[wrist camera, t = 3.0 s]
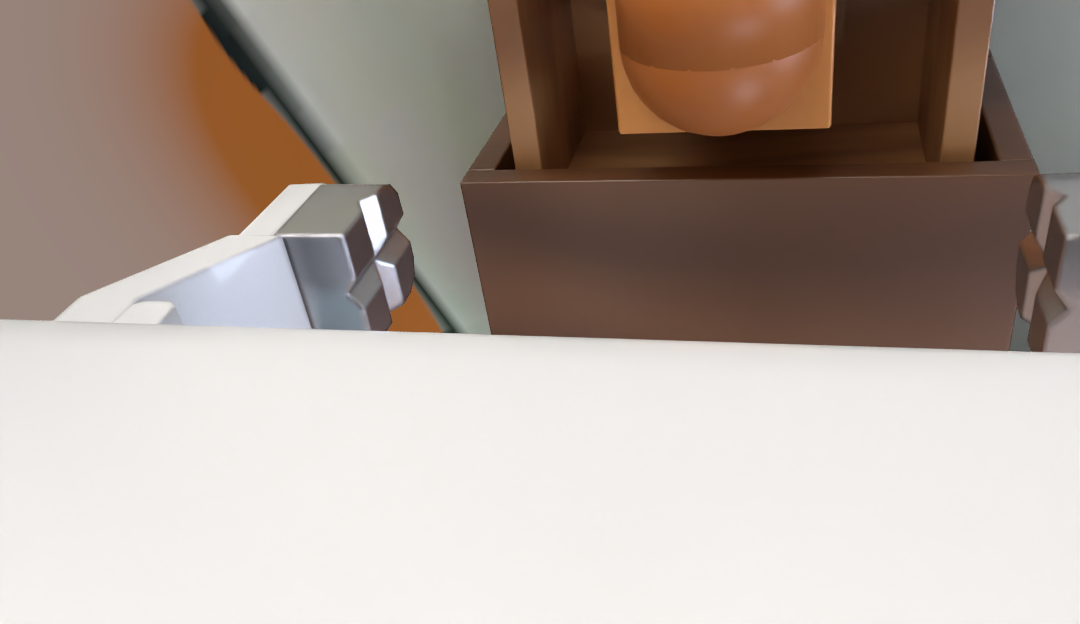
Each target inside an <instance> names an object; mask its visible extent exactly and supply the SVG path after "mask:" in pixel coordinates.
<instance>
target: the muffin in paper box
mask: <svg viewBox="0 0 1080 624" xmlns="http://www.w3.org/2000/svg"><path fill="white" fill-rule="evenodd" d="M606 3H607V13H608V24H609V34H610V44H611V55H612V65H613V76H614V86H615V96H616V107H617V117H618V127H619V132H620V134H638V133H675V132H690V133H695V134H700V135H706V136H728V135H735V134H739V133H743V132H746V131H749V130H783V129H819V128H830V126H831V117H832V92H833V67H834V42H835V17H836V0H606Z"/></svg>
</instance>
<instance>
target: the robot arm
mask: <svg viewBox="0 0 1080 624" xmlns="http://www.w3.org/2000/svg"><path fill="white" fill-rule="evenodd" d="M1025 212H1026V214H1027V217H1028V220H1029V223H1030V226H1031V229H1032V232H1031V233H1030V234H1029V235H1028V236H1027V237H1026V238H1025V239H1024V240H1023V241H1022V242H1021V243H1020V244H1019V250H1018V258H1017V265H1016V284H1015V291H1016V299H1017V306H1018V310H1019V313H1020V317H1021V318H1022V319H1023V320H1025V321H1026V322H1028V323H1030V329H1029V335H1028V343H1029V346H1030V350H1031V352H1023V351H991V350H959V349H927V348H896V347H864V346H832V345H801V344H769V343H738V342H706V341H675V340H643V339H612V338H581V337H549V336H518V335H486V334H455V333H423V332H391V331H387V330H388V328H389V327H390V325H391V324H392V318H391V315H390V311H392V310H394V309H396V308H398V307H399V306H401V305H403V304H404V303H405V301H406V300H407V298H408V296H409V294H410V293H411V289H412V284H413V279H414V274H415V272H414V256H413V252H412V248H411V243H410V241H409V240H408V239H407V238H406V237H405V236H404V235H403V234H402V233H401V232H400V231H399V230H398V229H397V226H398V224H399V222H400V220H401V218H402V216H403V210H402V207H401V203H400V200H399V196H398V193H397V192H396V190H395V189H394V188H393V187H392V186H391V185H390V184H324V183H318V184H299V185H289V186H288V187H287V188H286V189H285V190H284V191H283V192H282V193H281V194H280V195H279V196H278V197H277V198H276V199H275V200H274V201H273V202H272V203H271V204H270V205H269V206H268V207H267V208H266V209H265V210H264V211H263V212H262V213H261V214H260V215H259V216H258V217H257V218H256V219H255V220H254V221H253V222H252V223H251V224H250V225H249V226H248V227H247V228H246V229H245V230H244V231H243V232H242V233H241V234H240V235H237V236H236V235H229V236H227V237H224V238H222V239H220V240H217V241H215V242H212V243H210V244H207V245H205V246H203V247H200V248H198V249H195V250H193V251H190V252H188V253H186V254H183V255H181V256H178V257H176V258H173V259H171V260H169V261H166V262H164V263H161V264H159V265H156V266H154V267H152V268H149V269H147V270H144V271H142V272H139V273H137V274H135V275H132V276H130V277H127V278H125V279H122V280H120V281H117V282H115V283H113V284H110V285H108V286H105V287H103V288H100V289H98V290H96V291H93V292H91V293H89V294H86V295H84V296H81V297H79V298H78V299H77V300H76V301H75V302H74V303H73V304H71V305H70V306H69V307H68V308H67V309H66V310H65V311H63V312H62V313H61V314H60V315H59V316H58V317H57V318H55V319H54V320H53V321H40V320H7V319H0V624H1080V173H1067V174H1039V175H1037V176H1035V177H1033V179H1032V182H1031V185H1030V189H1029V192H1028V197H1027V203H1026V208H1025Z"/></svg>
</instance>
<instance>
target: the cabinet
mask: <svg viewBox="0 0 1080 624" xmlns="http://www.w3.org/2000/svg"><path fill="white" fill-rule="evenodd" d="M1039 174H1040V173H1039V170H1038V168H1037V165H1036V163H1035V161H1034V159H1033V157H1032V154H1031V152H1030V149H1029V147H1028V144H1027V142H1026V139H1025V137H1024V134H1023V132H1022V129H1021V127H1020V124H1019V122H1018V119H1017V117H1016V114H1015V112H1014V109H1013V107H1012V104H1011V102H1010V99H1009V97H1008V94H1007V92H1006V89H1005V87H1004V84H1003V82H1002V79H1001V77H1000V74H999V72H998V69H997V67H996V64H995V62H994V59H993V56H992V54H991V51H990V49H989V53H988V61H987V68H986V76H985V83H984V91H983V98H982V105H981V113H980V120H979V128H978V135H977V142H976V150H975V157H974V162H922V163H866V164H809V165H752V166H695V167H639V168H582V169H525V170H516V168H515V162H514V156H513V150H512V144H511V138H510V132H509V126H508V120H507V114H505V115H504V117H503V118H502V120H501V121H500V123H499V124H498V126H497V127H496V129H495V131H494V132H493V134H492V135H491V137H490V138H489V140H488V141H487V143H486V144H485V146H484V147H483V149H482V151H481V152H480V154H479V155H478V157H477V158H476V160H475V161H474V163H473V164H472V166H471V167H470V169H469V171H468V172H467V173H466V175H465V177H464V178H463V180H462V181H461V183H460V184H461V189H462V194H463V199H464V204H465V208H466V213H467V218H468V223H469V228H470V233H471V238H472V242H473V247H474V252H475V257H476V262H477V267H478V272H479V276H480V281H481V286H482V291H483V296H484V301H485V306H486V311H487V315H488V320H489V325H490V330H491V335H518V336H549V337H581V338H612V339H643V340H675V341H706V342H738V343H769V344H801V345H832V346H864V347H896V348H927V349H959V350H991V351H1009V348H1010V342H1011V337H1012V331H1013V326H1014V320H1015V315H1016V309H1017V299H1016V291H1015V284H1016V265H1017V258H1018V250H1019V244H1020V243H1021V242H1022V241H1023V240H1024V239H1025V238H1026V237H1027V236H1028V235H1029V234H1030V231H1031V226H1030V223H1029V220H1028V217H1027V214H1026V212H1025V208H1026V203H1027V197H1028V192H1029V189H1030V185H1031V182H1032V179H1033V177H1035V176H1037V175H1039Z"/></svg>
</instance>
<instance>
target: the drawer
mask: <svg viewBox="0 0 1080 624" xmlns="http://www.w3.org/2000/svg"><path fill="white" fill-rule="evenodd" d="M995 2H996V0H836V17H835V42H834V67H833V92H832V117H831V126H830V128H819V129H783V130H749V131H746V132H743V133H739V134H735V135H728V136H706V135H700V134H695V133H690V132H675V133H638V134H620V132H619V127H618V117H617V107H616V96H615V86H614V76H613V65H612V55H611V44H610V34H609V24H608V13H607V3H606V0H488V6H489V12H490V18H491V24H492V30H493V36H494V42H495V48H496V54H497V60H498V66H499V72H500V78H501V84H502V90H503V96H504V102H505V108H506V114H507V120H508V126H509V132H510V138H511V144H512V150H513V156H514V162H515V168H516V170H525V169H582V168H639V167H695V166H752V165H809V164H866V163H922V162H974V157H975V150H976V142H977V135H978V128H979V120H980V113H981V105H982V98H983V91H984V83H985V76H986V68H987V61H988V53H989V46H990V39H991V31H992V24H993V16H994V9H995Z"/></svg>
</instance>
